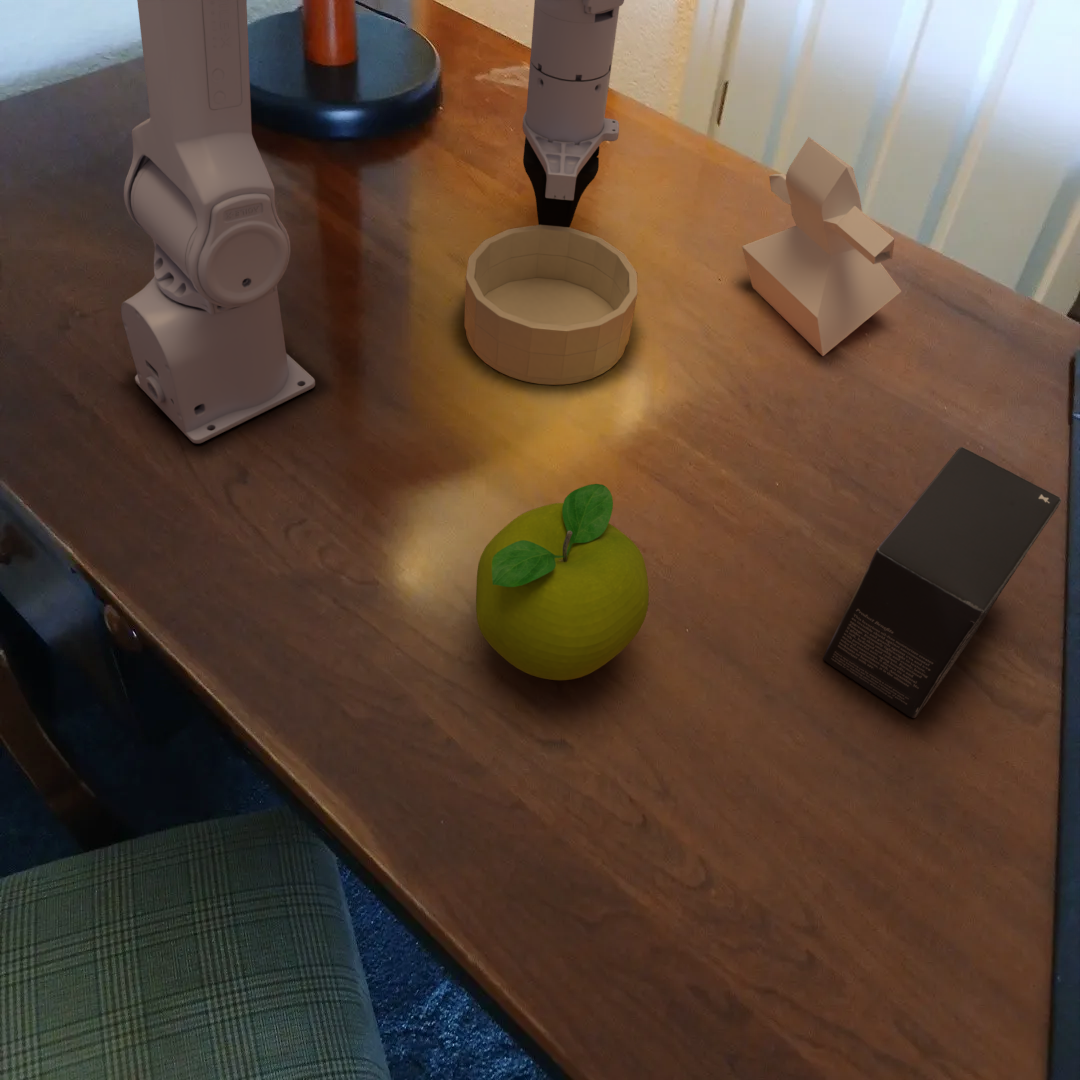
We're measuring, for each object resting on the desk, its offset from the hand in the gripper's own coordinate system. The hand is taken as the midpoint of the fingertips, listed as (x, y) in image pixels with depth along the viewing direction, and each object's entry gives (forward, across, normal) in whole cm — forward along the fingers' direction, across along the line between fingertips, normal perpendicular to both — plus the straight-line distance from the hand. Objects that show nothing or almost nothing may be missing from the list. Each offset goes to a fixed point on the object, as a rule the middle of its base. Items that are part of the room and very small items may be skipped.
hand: (553, 229), depth 84 cm
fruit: (+2, -38, -1) cm, 39 cm away
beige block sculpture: (+2, -4, -20) cm, 21 cm away
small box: (+2, -36, -23) cm, 42 cm away
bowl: (+2, -10, 0) cm, 10 cm away
